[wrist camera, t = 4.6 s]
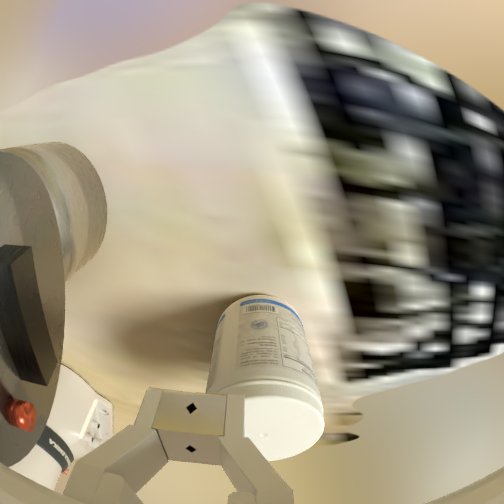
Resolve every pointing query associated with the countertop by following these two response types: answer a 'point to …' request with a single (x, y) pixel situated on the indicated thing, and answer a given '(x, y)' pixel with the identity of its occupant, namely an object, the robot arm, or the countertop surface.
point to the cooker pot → (70, 199)
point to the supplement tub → (268, 374)
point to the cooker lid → (28, 307)
